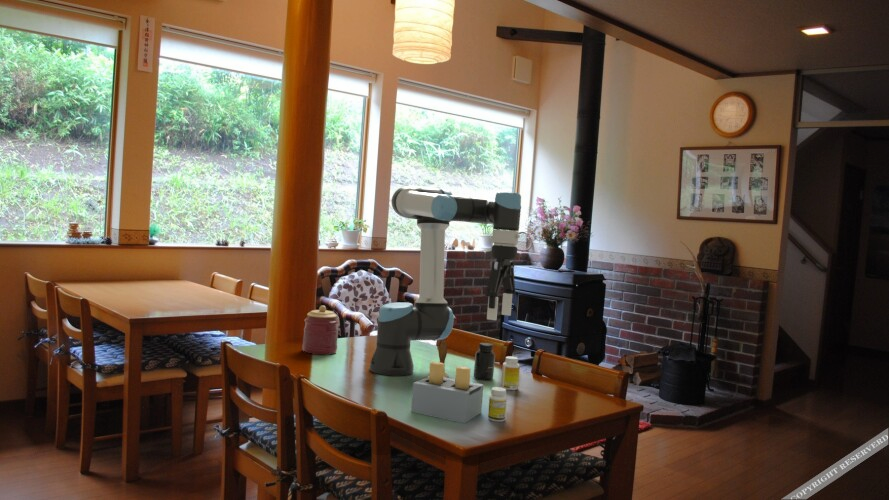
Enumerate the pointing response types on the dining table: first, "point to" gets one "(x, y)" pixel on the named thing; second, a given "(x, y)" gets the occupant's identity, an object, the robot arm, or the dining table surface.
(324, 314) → the canister
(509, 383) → the supplement bottle
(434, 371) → the peg
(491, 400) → the supplement bottle
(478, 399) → the socket block
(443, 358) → the hand bell
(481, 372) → the supplement bottle
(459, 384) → the peg
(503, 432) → the dining table surface
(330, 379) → the dining table surface
